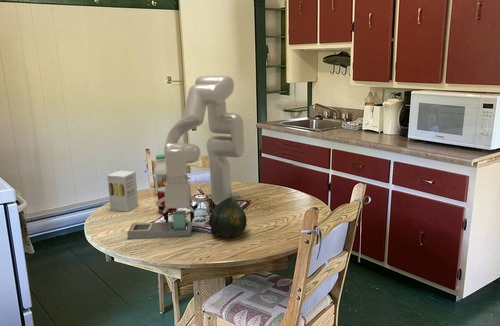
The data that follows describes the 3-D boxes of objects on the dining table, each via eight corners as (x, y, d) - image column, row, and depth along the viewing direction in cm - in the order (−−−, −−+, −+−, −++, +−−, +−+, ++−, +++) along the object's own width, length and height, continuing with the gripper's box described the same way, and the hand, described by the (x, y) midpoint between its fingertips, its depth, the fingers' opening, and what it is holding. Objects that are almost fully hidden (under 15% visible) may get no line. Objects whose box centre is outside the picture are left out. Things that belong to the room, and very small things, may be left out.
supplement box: (109, 210, 199) (106, 175, 195) (121, 204, 207) (118, 170, 203) (128, 212, 196) (124, 176, 192) (139, 205, 204) (135, 171, 200)
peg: (186, 229, 174) (185, 210, 172) (185, 233, 170) (184, 214, 168) (175, 230, 174) (173, 211, 172) (174, 234, 169) (172, 215, 168)
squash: (205, 230, 158) (231, 198, 158) (199, 218, 172) (222, 188, 172) (235, 251, 163) (259, 219, 163) (226, 237, 177) (249, 208, 177)
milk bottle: (153, 194, 220) (149, 156, 215) (160, 190, 227) (157, 153, 223) (166, 195, 218) (163, 157, 213) (173, 191, 225) (171, 153, 220)
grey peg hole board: (192, 226, 177) (192, 220, 176) (190, 236, 167) (190, 229, 166) (133, 229, 176) (132, 222, 175) (127, 239, 166) (127, 232, 165)
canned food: (173, 215, 190) (171, 191, 188) (156, 214, 192) (154, 190, 189) (179, 209, 198) (177, 186, 195) (162, 208, 199) (161, 185, 197)
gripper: (199, 175, 171) (201, 216, 175) (155, 177, 170) (158, 218, 174) (198, 181, 163) (200, 223, 167) (152, 182, 163) (155, 225, 166)
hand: (179, 221), depth 171 cm, fingers open, 9 cm apart
